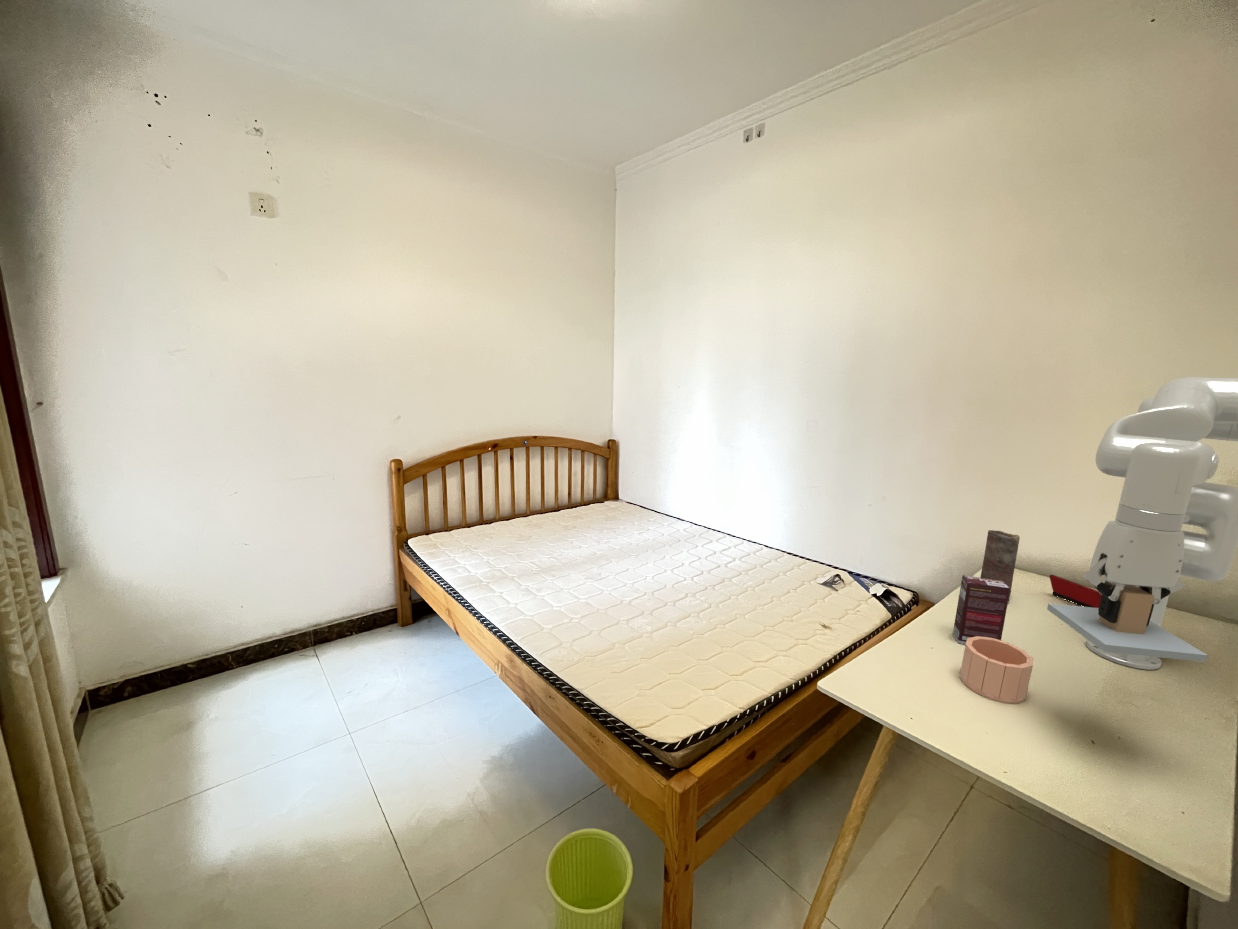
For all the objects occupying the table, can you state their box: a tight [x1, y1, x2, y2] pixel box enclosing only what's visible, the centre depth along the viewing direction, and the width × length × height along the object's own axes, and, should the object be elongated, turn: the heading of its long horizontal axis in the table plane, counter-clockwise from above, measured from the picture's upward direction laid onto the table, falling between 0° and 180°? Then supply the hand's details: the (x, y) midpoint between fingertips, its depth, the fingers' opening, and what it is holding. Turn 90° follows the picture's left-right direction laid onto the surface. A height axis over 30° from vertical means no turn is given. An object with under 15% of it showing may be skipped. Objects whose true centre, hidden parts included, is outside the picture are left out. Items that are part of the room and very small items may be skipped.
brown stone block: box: [980, 529, 1021, 602], centre depth 142 cm, size 8×7×20 cm
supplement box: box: [952, 574, 1011, 646], centre depth 119 cm, size 9×5×16 cm, turn 71°
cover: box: [1047, 584, 1208, 663], centre depth 85 cm, size 14×14×8 cm
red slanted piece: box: [1048, 574, 1102, 608], centre depth 141 cm, size 12×11×7 cm
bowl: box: [959, 636, 1034, 705], centre depth 103 cm, size 11×11×8 cm
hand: (1122, 619), depth 86 cm, fingers closed on cover, 4 cm apart
